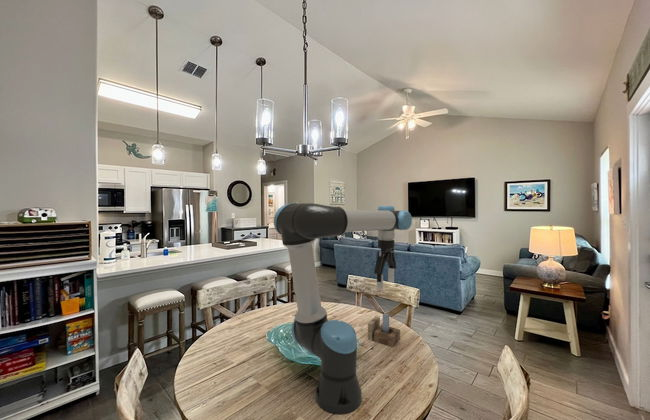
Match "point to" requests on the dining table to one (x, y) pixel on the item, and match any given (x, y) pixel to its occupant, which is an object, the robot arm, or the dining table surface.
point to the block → (387, 336)
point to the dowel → (386, 323)
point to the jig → (373, 327)
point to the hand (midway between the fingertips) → (385, 285)
